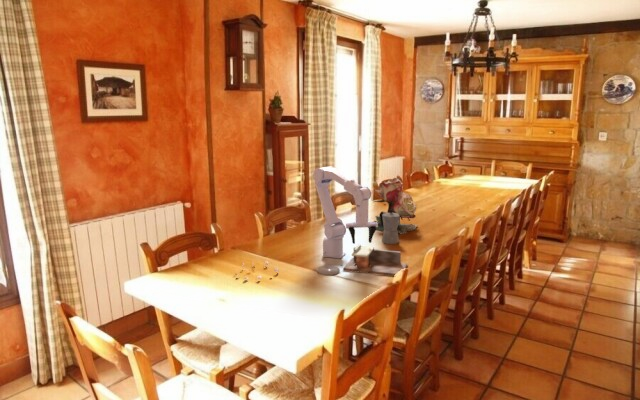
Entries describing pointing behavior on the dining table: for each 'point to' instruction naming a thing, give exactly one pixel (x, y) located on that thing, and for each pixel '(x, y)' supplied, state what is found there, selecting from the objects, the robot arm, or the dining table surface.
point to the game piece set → (259, 276)
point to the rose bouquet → (396, 204)
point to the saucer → (328, 270)
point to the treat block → (363, 262)
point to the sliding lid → (362, 251)
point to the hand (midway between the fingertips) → (361, 242)
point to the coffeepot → (390, 227)
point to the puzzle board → (379, 263)
